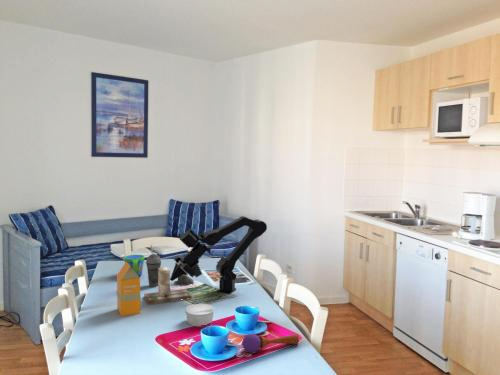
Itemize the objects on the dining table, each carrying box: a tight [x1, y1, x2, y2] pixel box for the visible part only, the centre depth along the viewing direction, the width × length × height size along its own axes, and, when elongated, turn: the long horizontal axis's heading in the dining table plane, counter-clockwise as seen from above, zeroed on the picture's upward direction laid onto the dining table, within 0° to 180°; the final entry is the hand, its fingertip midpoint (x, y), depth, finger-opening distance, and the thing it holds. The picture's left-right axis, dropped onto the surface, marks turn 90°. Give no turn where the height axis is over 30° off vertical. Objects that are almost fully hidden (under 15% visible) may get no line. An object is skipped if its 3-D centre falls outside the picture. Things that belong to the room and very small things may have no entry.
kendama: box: [242, 333, 300, 353], centre depth 144 cm, size 6×6×20 cm
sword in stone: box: [174, 261, 195, 286], centre depth 213 cm, size 10×8×12 cm
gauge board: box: [143, 288, 192, 305], centre depth 191 cm, size 19×10×2 cm, turn 113°
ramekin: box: [185, 303, 215, 327], centre depth 165 cm, size 11×11×5 cm
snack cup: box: [123, 254, 146, 277], centre depth 224 cm, size 16×10×10 cm
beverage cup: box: [145, 244, 162, 288], centre depth 208 cm, size 7×7×20 cm
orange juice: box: [116, 261, 141, 317], centre depth 174 cm, size 8×9×20 cm
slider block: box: [157, 266, 171, 297], centre depth 189 cm, size 4×8×11 cm, turn 23°
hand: (171, 280), depth 191 cm, fingers closed
